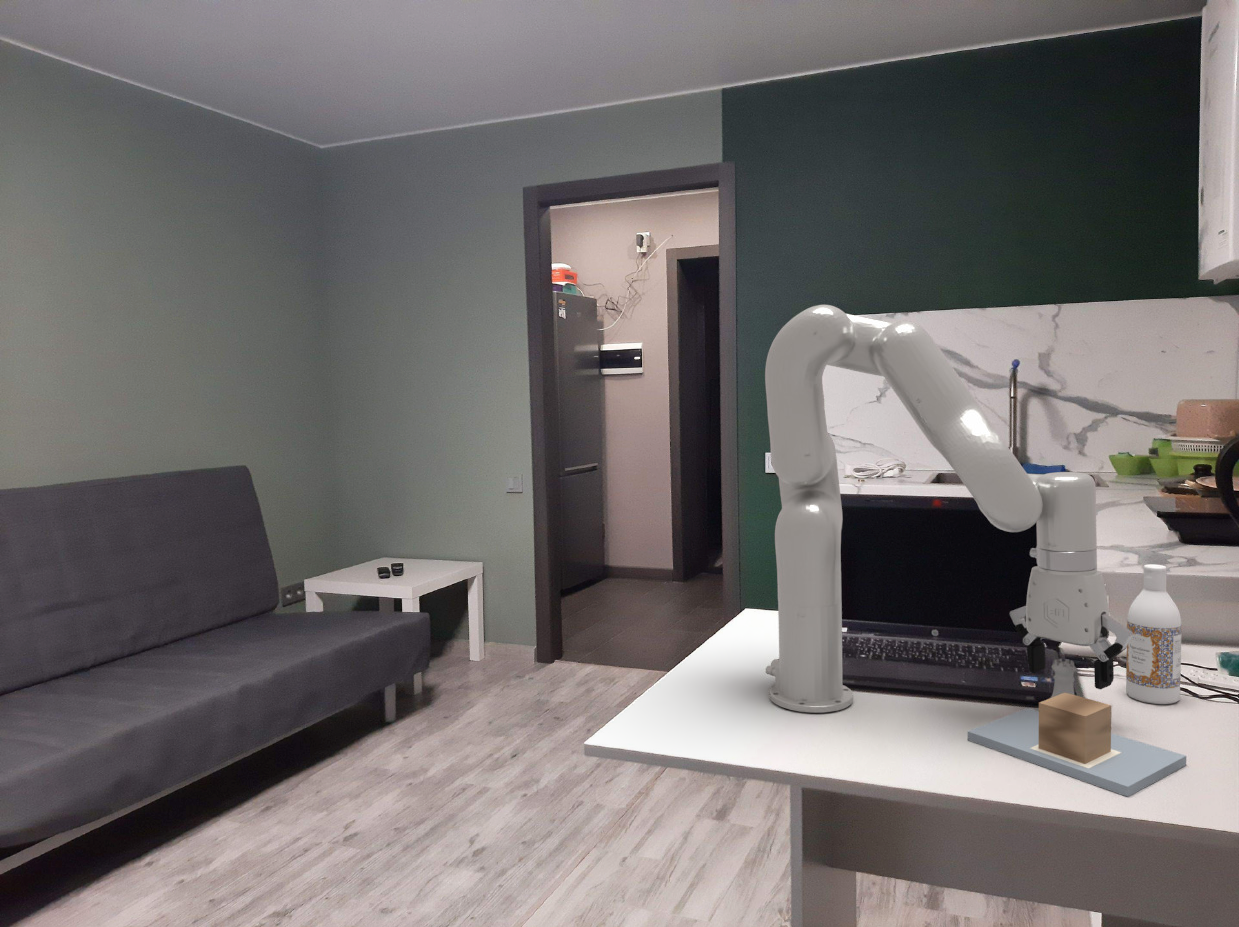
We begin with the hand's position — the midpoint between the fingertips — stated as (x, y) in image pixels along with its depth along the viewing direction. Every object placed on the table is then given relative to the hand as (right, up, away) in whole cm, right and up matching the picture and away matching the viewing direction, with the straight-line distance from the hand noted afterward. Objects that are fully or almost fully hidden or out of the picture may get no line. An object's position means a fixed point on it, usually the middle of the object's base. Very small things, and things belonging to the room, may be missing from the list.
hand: (1069, 678), depth 126 cm
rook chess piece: (-1, -6, +1) cm, 6 cm away
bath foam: (+16, -5, +7) cm, 18 cm away
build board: (-6, -7, -12) cm, 14 cm away
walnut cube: (-6, -6, -14) cm, 16 cm away
